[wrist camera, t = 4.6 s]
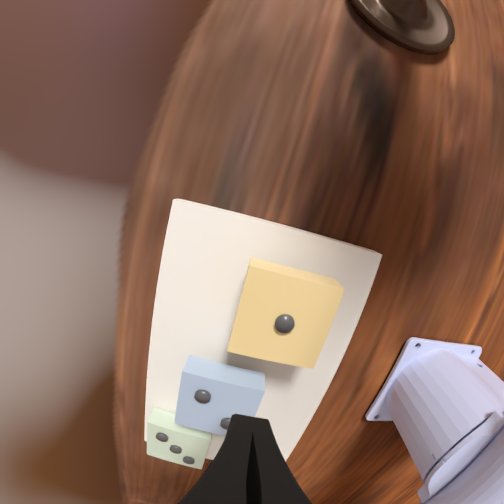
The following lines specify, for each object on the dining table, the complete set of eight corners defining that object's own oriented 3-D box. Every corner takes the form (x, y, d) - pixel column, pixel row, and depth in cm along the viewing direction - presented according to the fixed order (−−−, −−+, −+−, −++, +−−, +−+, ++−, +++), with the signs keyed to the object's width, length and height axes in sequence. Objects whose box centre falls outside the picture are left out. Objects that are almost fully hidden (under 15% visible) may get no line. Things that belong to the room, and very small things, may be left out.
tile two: (264, 372, 15) (265, 393, 14) (246, 421, 16) (245, 441, 14) (189, 354, 15) (181, 373, 13) (180, 406, 16) (173, 425, 14)
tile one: (335, 278, 14) (345, 290, 12) (308, 351, 15) (313, 370, 13) (250, 256, 14) (249, 267, 12) (230, 335, 15) (226, 353, 13)
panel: (374, 250, 16) (390, 259, 14) (279, 460, 20) (280, 479, 18) (179, 198, 16) (166, 199, 13) (148, 431, 20) (140, 449, 18)
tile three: (213, 424, 18) (210, 442, 16) (204, 454, 18) (201, 471, 17) (154, 407, 17) (146, 424, 16) (152, 440, 18) (146, 455, 16)
